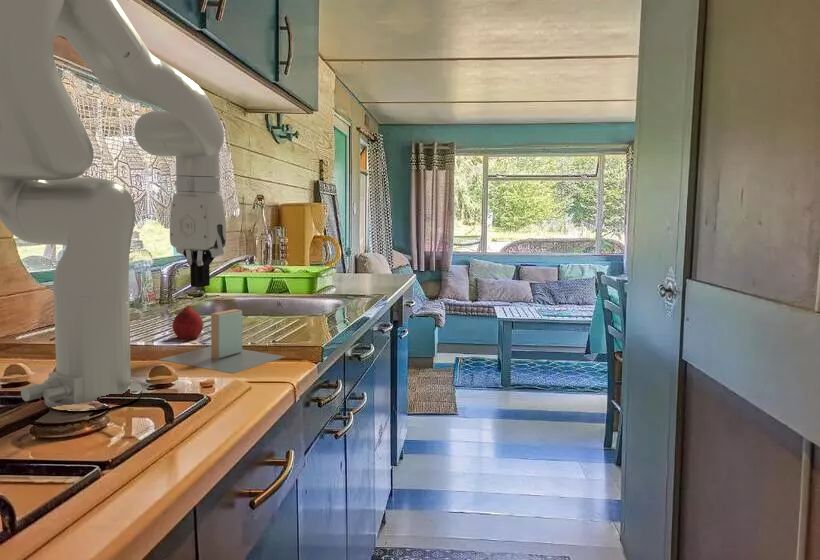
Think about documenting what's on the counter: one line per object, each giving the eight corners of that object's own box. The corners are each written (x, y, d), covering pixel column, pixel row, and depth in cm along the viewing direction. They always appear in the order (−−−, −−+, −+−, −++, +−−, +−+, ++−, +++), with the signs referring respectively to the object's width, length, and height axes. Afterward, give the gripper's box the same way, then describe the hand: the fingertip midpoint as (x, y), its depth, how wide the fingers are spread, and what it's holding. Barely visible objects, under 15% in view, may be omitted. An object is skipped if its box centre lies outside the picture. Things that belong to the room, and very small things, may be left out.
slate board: (232, 380, 102) (232, 373, 102) (158, 366, 109) (158, 359, 109) (286, 362, 114) (286, 356, 114) (216, 351, 122) (216, 345, 122)
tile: (219, 359, 111) (219, 314, 110) (211, 357, 112) (211, 313, 111) (242, 352, 116) (242, 310, 115) (234, 351, 117) (234, 309, 116)
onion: (193, 347, 124) (192, 307, 123) (167, 345, 125) (166, 306, 125) (208, 341, 130) (208, 303, 129) (183, 339, 131) (182, 302, 130)
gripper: (152, 185, 114) (155, 285, 116) (214, 187, 107) (216, 292, 110) (184, 186, 120) (186, 280, 123) (244, 188, 114) (245, 287, 116)
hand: (200, 286), depth 116 cm, fingers closed
